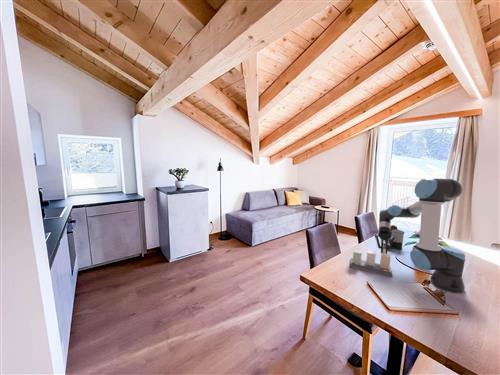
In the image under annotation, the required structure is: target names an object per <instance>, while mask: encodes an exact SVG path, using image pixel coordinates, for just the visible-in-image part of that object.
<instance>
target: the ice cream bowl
mask: <svg viewBox="0 0 500 375" xmlns="http://www.w3.org/2000/svg"><path fill="white" fill-rule="evenodd" d="M393 229H395V230H399V229H398V227H397V225H395V224H393V225H391V229H390V230H391V231H392V230H393ZM388 241H390V239H389V240H388Z"/></svg>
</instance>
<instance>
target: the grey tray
mask: <svg viewBox="0 0 500 375" xmlns="http://www.w3.org/2000/svg"><path fill="white" fill-rule="evenodd" d="M349 268H352V269H356V270H361V271H364V272H369V273H373V274H379V275H383V276H386V277H390V278H391V277H392V278H393V275H394V274H393V270H392V267H391V265H390V266H389V270H388V269H383V268H380V263H377V262H375V266H370V265H366V260H364V259H361V265H360V264H356V263H353V257H351V258H350V262H349Z"/></svg>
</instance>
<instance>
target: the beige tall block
mask: <svg viewBox="0 0 500 375" xmlns="http://www.w3.org/2000/svg"><path fill="white" fill-rule="evenodd" d="M379 262H380V263H379V264H380V268H383V269H388V270H389V266H391V265H390V264H391V254H389V253H387V254H385V253H381V252H380V260H379Z"/></svg>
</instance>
